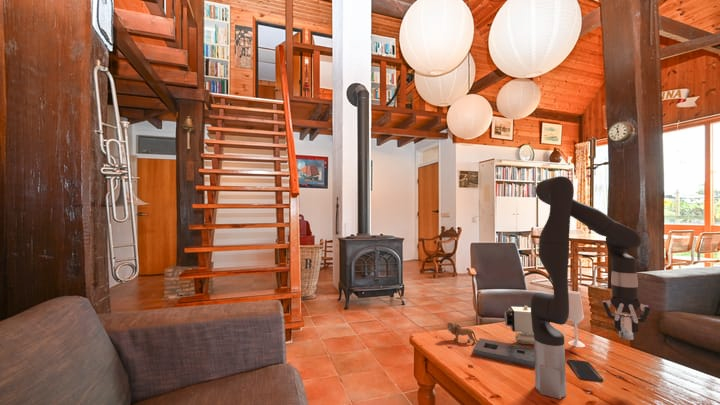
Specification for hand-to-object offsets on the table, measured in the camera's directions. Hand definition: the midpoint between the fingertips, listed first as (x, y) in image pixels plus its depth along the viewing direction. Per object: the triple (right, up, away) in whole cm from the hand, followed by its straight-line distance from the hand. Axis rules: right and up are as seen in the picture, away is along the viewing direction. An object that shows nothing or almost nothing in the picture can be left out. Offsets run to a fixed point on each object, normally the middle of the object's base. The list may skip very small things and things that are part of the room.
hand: (626, 331), depth 116 cm
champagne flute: (+4, -19, +32) cm, 38 cm away
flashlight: (0, -2, 0) cm, 2 cm away
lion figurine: (-48, -20, +38) cm, 64 cm away
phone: (-10, -19, +8) cm, 23 cm away
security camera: (-18, -20, +34) cm, 44 cm away
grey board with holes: (-34, -20, +23) cm, 45 cm away
